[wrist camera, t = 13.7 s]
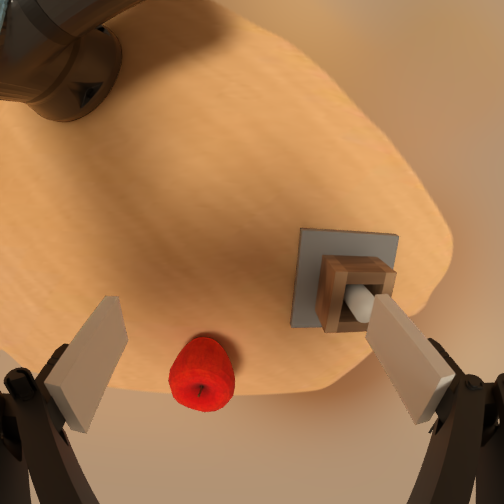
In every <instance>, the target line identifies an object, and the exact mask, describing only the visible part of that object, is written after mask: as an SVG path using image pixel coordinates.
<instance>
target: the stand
mask: <svg viewBox="0 0 504 504" xmlns="http://www.w3.org/2000/svg"><path fill="white" fill-rule="evenodd" d="M398 240H399V236H398V235H396V234H389V233H375V232H360V231H344V230H328V229H310V228H300V237H299V248H298V258H297V268H296V277H295V286H294V295H293V303H292V312H291V320H290V325H291V328H306V327H322V325H321V323H320V321H319V318H318V316H317V314H316V312H315V304H316V297H317V290H318V283H319V276H320V269H321V261H322V255H344V256H371V257H378V258H379V259H381V260H382V261H383V262H384V263H385V264H387V265H388V266H389V267H390V268H392V269H393V267H394V262H395V257H396V251H397V246H398ZM374 298H375V297H374V296H373V295H372V294H371V293H370V291H369V290H368V289H367V288H366V287H365V286H364V285H363V284H346V287H345V292H344V298H343V300H344V301H345V303H346V304H347V306H348V307H349V309H350V310H351V312H352V313H353V315H354V316H355V318H356V319H357V320H358V321H359V322H361V323H368V322H369V321H370V316H371V312H372V308H373V303H374Z"/></svg>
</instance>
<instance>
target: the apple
mask: <svg viewBox="0 0 504 504" xmlns="http://www.w3.org/2000/svg"><path fill="white" fill-rule="evenodd" d="M168 381H169V385H170V388H171V391H172V395H173V397H174V398H175V399H176V400H177V402H178V403H180V404H182V405H184V406H186V407H188V408H191V409H195V410H198V411H202V412H211V411H216V410H219V409H221V408H223V407H224V406H225V405H226V404H227V403H228V402H229V400H230V399H231V398H232V396H233V393H234V388H235V376H234V372H233V368H232V365H231V362H230V360H229V357H228V355H227V353H226V352H225V350H224V349H223V348H222V346H221V345H220V344H219V343H218V342H217V341H215V340H214V339H211V338H208V337H198V338H195V339H193V340H192V341H191V342H189V343H188V344H187V345H186V346H185V347H184V348H183V349H182V350H181V352H180V353H179V355H178V356H177V358H176V360H175V361H174V363H173V365H172V367H171V369H170V373H169V380H168Z"/></svg>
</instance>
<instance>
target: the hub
mask: <svg viewBox="0 0 504 504" xmlns="http://www.w3.org/2000/svg"><path fill="white" fill-rule="evenodd" d="M396 274H397V272H395V271H394V270H393V269H392V268H390V267H389V266H388V265H387V264H385V263H384V262H383V261H382V260H381V259H379V258H378V257H371V256H344V255H322V261H321V269H320V276H319V283H318V290H317V297H316V304H315V312H316V314H317V316H318V318H319V321H320V323H321V325H322V327H323V330H324V332H325V333H340V332H362V331H367V329H368V325H369V322H368V323H361V322H359V321H358V320H357V319H356V318H355V316H354V315H353V313H352V312H351V310H350V309H349V307H348V306H347V304H346V303H345V301H344V300H343V298H344V292H345V287H346V284H363V285H364V286H365V287H366V288H367V289H368V290H369V291H370V293H371V294H372V295H373V296H374V297H375V295H376V294H388V295H389V296H390V297H391V296H392V292H393V288H394V283H395V279H396Z"/></svg>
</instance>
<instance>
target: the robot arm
mask: <svg viewBox="0 0 504 504" xmlns="http://www.w3.org/2000/svg"><path fill="white" fill-rule="evenodd" d="M143 1H145V0H0V100H6V101H15V102H23V103H26V104H27V105H28V106H29V107H31V108H32V109H33V110H34V111H36V112H37V113H38V114H39V115H40V116H42V117H43V118H46V119H48V120H53V121H60V122H67V121H73V120H76V119H78V118H81V117H83V116H85V115H86V114H88V113H89V112H91V111H92V110H93V109H94V108H96V107H97V106H98V105H99V104H100V103H101V102H102V101H103V99H104V98H105V97H106V96H107V94H108V93H109V92H110V90H111V88H112V87H113V85H114V83H115V81H116V79H117V76H118V73H119V70H120V66H121V59H122V52H121V46H120V43H119V40H118V39H117V37H116V36H115V34H114V33H113V32H111V31H110V30H109V29H108V28H107V27H105V26H104V25H102V24H103V23H104V22H106V21H108V20H109V19H111V18H113V17H115V16H116V15H118V14H120V13H122V12H124V11H126V10H127V9H129V8H131V7H133V6H135V5H137V4H139V3H141V2H143ZM365 338H366V340H367V341H368V343H369V345H370V346H371V348H372V350H373V351H374V353H375V355H376V356H377V358H378V360H379V361H380V363H381V365H382V367H383V368H384V370H385V372H386V373H387V375H388V377H389V379H390V380H391V382H392V384H393V386H394V387H395V389H396V391H397V393H398V394H399V396H400V398H401V400H402V402H403V403H404V405H405V407H406V409H407V410H408V413H409V414H410V416H411V418H412V420H413V422H414V424H415V425H417V424H420V423H423V422H426V421H429V420H430V419H431V417H432V415H433V414H434V412H436V413H437V415H438V418H437V420H436V421H435V423H434V424H433V426H432V428H431V429H430V431H429V433H431V432H432V430H433V432H432V436H431V439H430V443H429V446H428V449H427V453H426V455H425V458H424V461H423V464H422V467H421V470H420V472H419V475H418V478H417V480H416V483H415V485H414V488H413V490H412V493H411V495H410V498H409V500H408V502H407V504H469V501H470V497H471V493H472V489H473V485H474V480H475V476H476V504H504V373H502V374H500V375H499V376H498V377H497V379H496V381H495V383H484V382H483V381H482V380H481V379H480V378H479V377H477V376H475V375H471V374H467V375H465V374H464V373H463V372H462V370H461V369H460V368H459V366H458V365H457V364H456V363H455V361H454V360H453V359H452V358H451V357H449V354H448V353H447V352H445V350H444V348H443V347H442V346H441V345H440V344H439V343H438V342H436V341H435V340H433V339H432V338H428V339H427V338H426V337H425V336H424V335H423V333H422V332H421V331H420V330H419V329H418V328H417V326H416V325H415V324H414V323H413V322H412V321H411V320H410V318H409V317H408V316H407V315H406V314H405V313H404V311H403V310H402V309H401V308H400V307H399V306H398V305H397V304H396V302H395V301H394V300H393V299H392V298H391V297H390V296H389V295H388V294H376V295H375V298H374V303H373V308H372V312H371V316H370V321H369V325H368V329H367V333H366V337H365ZM127 342H128V337H127V332H126V328H125V324H124V319H123V315H122V310H121V306H120V301H119V296H105V297H104V298H103V300H102V301H101V302H100V304H99V305H98V306H97V308H96V309H95V310H94V312H93V313H92V314H91V315H90V317H89V318H88V319H87V321H86V322H85V324H84V325H83V326H82V328H81V329H80V330H79V332H78V333H77V335H76V336H75V337H74V339H73V340H72V341H71V343H70V344H63V345H62V346H60V347H59V348H58V349H56V350H55V352H54V353H53V355H52V356H51V358H50V359H49V360H48V362H47V364H45V366H44V367H43V369H42V370H41V372H40V373H39V375H38V376H37V377H36V379H35V380H34V378H33V376H32V374H31V372H30V370H28V369H27V368H22V367H21V368H16V369H14V370H11V371H10V372H9V373H8V374H7V375H6V377H5V378H4V384H5V386H6V388H7V390H8V391H9V393H10V394H4V393H3V394H2V393H1V391H0V504H31V498H30V488H29V474H28V469H29V473H30V476H31V479H32V482H33V485H34V488H35V491H36V494H37V496H38V499H39V502H40V504H99V502H98V500H97V498H96V497H95V495H94V493H93V491H92V490H91V487H90V486H89V484H88V482H87V480H86V478H85V476H84V474H83V472H82V469H81V468H80V465H79V463H78V461H77V459H76V457H75V454H74V452H73V449H72V447H71V445H70V442H69V440H68V437H67V435H66V432H65V431H64V429H63V425H64V423H65V421H66V422H67V424H68V426H69V427H70V429H71V430H74V431H78V432H82V433H86V434H87V431H88V429H89V427H90V424H91V422H92V419H93V417H94V415H95V412H96V409H97V407H98V405H99V403H100V400H101V398H102V396H103V394H104V391H105V389H106V387H107V385H108V383H109V380H110V378H111V376H112V374H113V372H114V369H115V367H116V365H117V363H118V361H119V359H120V357H121V355H122V353H123V350H124V348H125V346H126V344H127ZM498 419H500V423H499V424H498Z"/></svg>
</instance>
